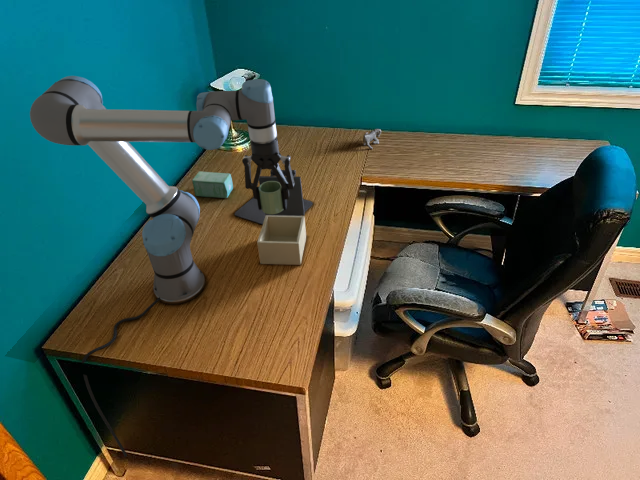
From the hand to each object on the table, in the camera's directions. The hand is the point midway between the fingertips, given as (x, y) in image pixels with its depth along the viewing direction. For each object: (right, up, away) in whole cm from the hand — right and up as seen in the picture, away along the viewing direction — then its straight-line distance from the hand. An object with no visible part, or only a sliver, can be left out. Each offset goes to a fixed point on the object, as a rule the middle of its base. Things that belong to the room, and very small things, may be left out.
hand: (273, 207), depth 147 cm
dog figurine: (+38, +33, +71) cm, 87 cm away
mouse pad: (-3, +2, +33) cm, 33 cm away
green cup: (0, 0, 0) cm, 0 cm away
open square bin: (+2, -13, +14) cm, 19 cm away
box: (-27, +9, +44) cm, 53 cm away
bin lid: (+2, +4, +8) cm, 9 cm away
